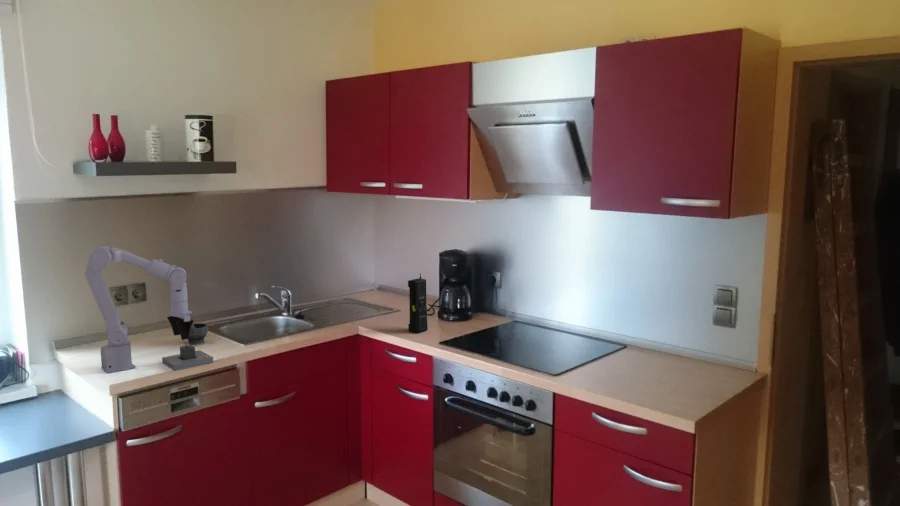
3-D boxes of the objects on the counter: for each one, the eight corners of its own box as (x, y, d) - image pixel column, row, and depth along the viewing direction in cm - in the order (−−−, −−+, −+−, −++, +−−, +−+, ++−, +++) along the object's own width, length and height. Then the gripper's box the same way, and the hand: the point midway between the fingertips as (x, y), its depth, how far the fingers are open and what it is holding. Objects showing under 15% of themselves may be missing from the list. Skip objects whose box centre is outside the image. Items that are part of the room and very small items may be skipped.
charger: (184, 365, 239) (183, 346, 238) (180, 362, 242) (179, 344, 241) (195, 362, 241) (194, 344, 240) (191, 360, 244) (190, 342, 243)
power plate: (174, 370, 232) (173, 364, 232) (162, 362, 241) (161, 356, 241) (213, 362, 242) (212, 356, 241) (200, 355, 250) (199, 349, 250)
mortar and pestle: (196, 338, 274) (194, 310, 272) (213, 340, 270) (212, 312, 269) (175, 345, 264) (173, 316, 262) (193, 347, 260) (192, 318, 258)
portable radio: (417, 334, 281) (416, 276, 277) (406, 332, 284) (406, 275, 281) (428, 330, 287) (428, 274, 283) (418, 328, 291) (417, 272, 287)
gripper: (197, 302, 237) (199, 339, 239) (183, 296, 247) (184, 331, 249) (177, 305, 232) (179, 342, 234) (163, 298, 243) (165, 334, 245)
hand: (181, 337), depth 241 cm, fingers open, 7 cm apart
